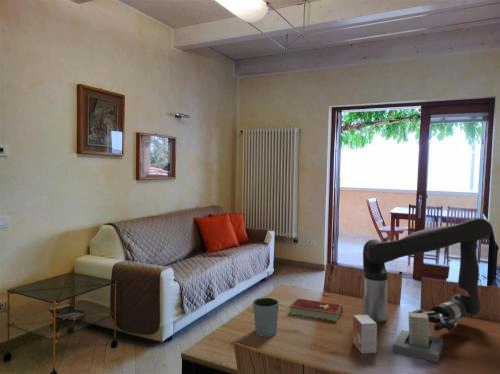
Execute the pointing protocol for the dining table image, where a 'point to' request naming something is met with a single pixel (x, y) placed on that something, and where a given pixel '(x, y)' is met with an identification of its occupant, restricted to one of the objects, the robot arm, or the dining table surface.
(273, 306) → the grey ceramic cup
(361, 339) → the small box
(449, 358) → the dining table surface
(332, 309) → the hardcover book
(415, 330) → the skincare box
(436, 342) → the pocket stand
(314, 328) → the dining table surface
